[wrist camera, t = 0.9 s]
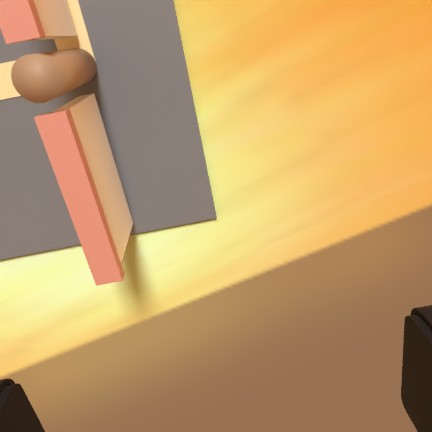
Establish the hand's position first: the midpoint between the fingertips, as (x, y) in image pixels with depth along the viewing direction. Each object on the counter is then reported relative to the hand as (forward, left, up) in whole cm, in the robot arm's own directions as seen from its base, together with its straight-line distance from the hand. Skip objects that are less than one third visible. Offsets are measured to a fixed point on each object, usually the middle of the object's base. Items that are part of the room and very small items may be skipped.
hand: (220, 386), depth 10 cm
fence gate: (+7, 0, -21) cm, 22 cm away
